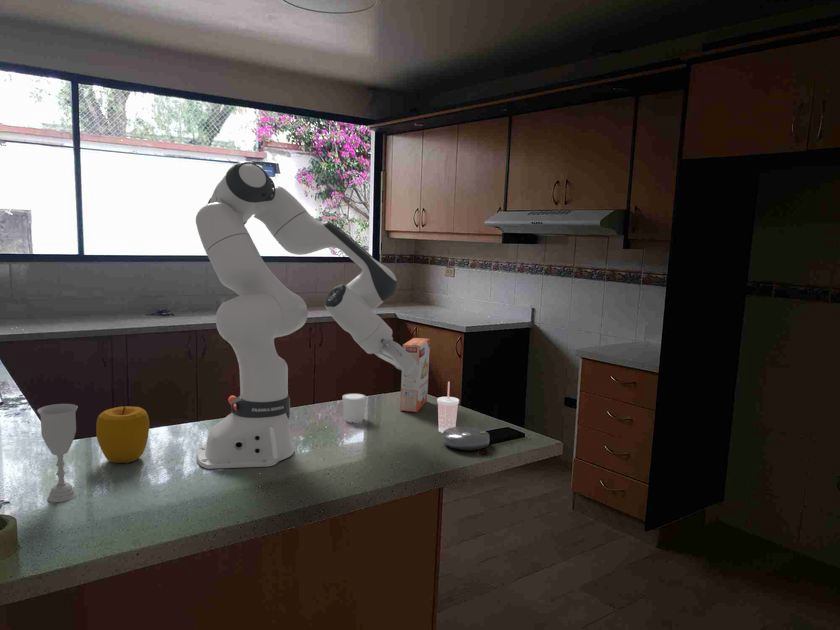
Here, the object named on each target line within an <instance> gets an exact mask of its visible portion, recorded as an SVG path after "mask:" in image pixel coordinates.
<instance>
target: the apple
mask: <svg viewBox="0 0 840 630" xmlns="http://www.w3.org/2000/svg"><path fill="white" fill-rule="evenodd" d="M95 424H96V426H95V430H96V439H97V442H98V443H97V444H98V445H99V448H100V450H101V452H102V454H103V455H104V457H105V458H106V459H107V461H109V462H112V463H118V464H122V463H123V464H124V463H131V462H135V461H136V460H138V459H139V458H141V457H142V456H143V454H144V453H145V451H146V450H145V449H146V447H147V443H148V438H149V432H150V426H151V425H150V424H151V423H150V418H149V415H148V413H147V411H146V409H144V408H142V407H140V406H118V407H113V408H109V409H106V410H103V411H102V412H101V413H100V414H99V415H98V416H97V418H96V423H95Z"/></svg>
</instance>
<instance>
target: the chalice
mask: <svg viewBox="0 0 840 630" xmlns="http://www.w3.org/2000/svg"><path fill="white" fill-rule="evenodd" d="M78 407H79V406H78V405H76V404H75V403H74V404H72V403H55V404H50V405H44V406H42V407H39V408H38V409H37V413H38V414H39V416H40V428H41V429H40V433H41V437H42V439H43V442H44V443H45V445H46V446H47V448H48V450H49V451H50V453H51V454H52V455H53V456H56V457H57V460H56V461H57V462H56V463H55V466H56V467H57V472H56V473H55V475H56V476H57V477H58V481H57V483H56V484H55V485H53V486H52V487H51V488H50V492H49V494H48V497H47V498H46V499H47V501H48V502H51V503H62V502H67V501H70V500H72V499H74V498H76V496H77V492H76V491H75V488H73V485H72V484H71V483H69V482H67V481H65V475H66V473H67V472H66V471H65V469H64V466H65V465H66V463H65V462H64V458H63V457H64V455H66V454H67V453H69V450H70V448H71V446H72V444H73V442H74V439H75V436H76V434H77V433H76V432H77V421H76V419H77V418H76V415H77V414H76V412H77V410H78Z"/></svg>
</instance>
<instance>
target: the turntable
mask: <svg viewBox="0 0 840 630" xmlns="http://www.w3.org/2000/svg"><path fill="white" fill-rule="evenodd" d="M442 442H443V444H445V445H446V446H449V447H450V448H451V449H453V450H456V451H462V452H475V451H480V450H482V449H484V448H487V447H488V446H489V444H490V434H489V431H488V432H487V431H486V430H484V429H481V428H477V427H471V426H456V427H453V428H449V429H446V430H445V431H444V432H443V433H442ZM481 448H482V449H481Z"/></svg>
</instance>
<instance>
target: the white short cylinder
mask: <svg viewBox="0 0 840 630" xmlns="http://www.w3.org/2000/svg"><path fill="white" fill-rule="evenodd" d="M341 396H342V398H341V399H342V406H343V407H342V408H343V410H342V411H343V420H344V421H345V422H348V423H352V422H353V423H361V422H363V421H364V419H365V409H366V402H367V400H366V399H367V395H365V394H362V393H352V392H351V393H346V394H343V395H341ZM360 421H361V422H360Z"/></svg>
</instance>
